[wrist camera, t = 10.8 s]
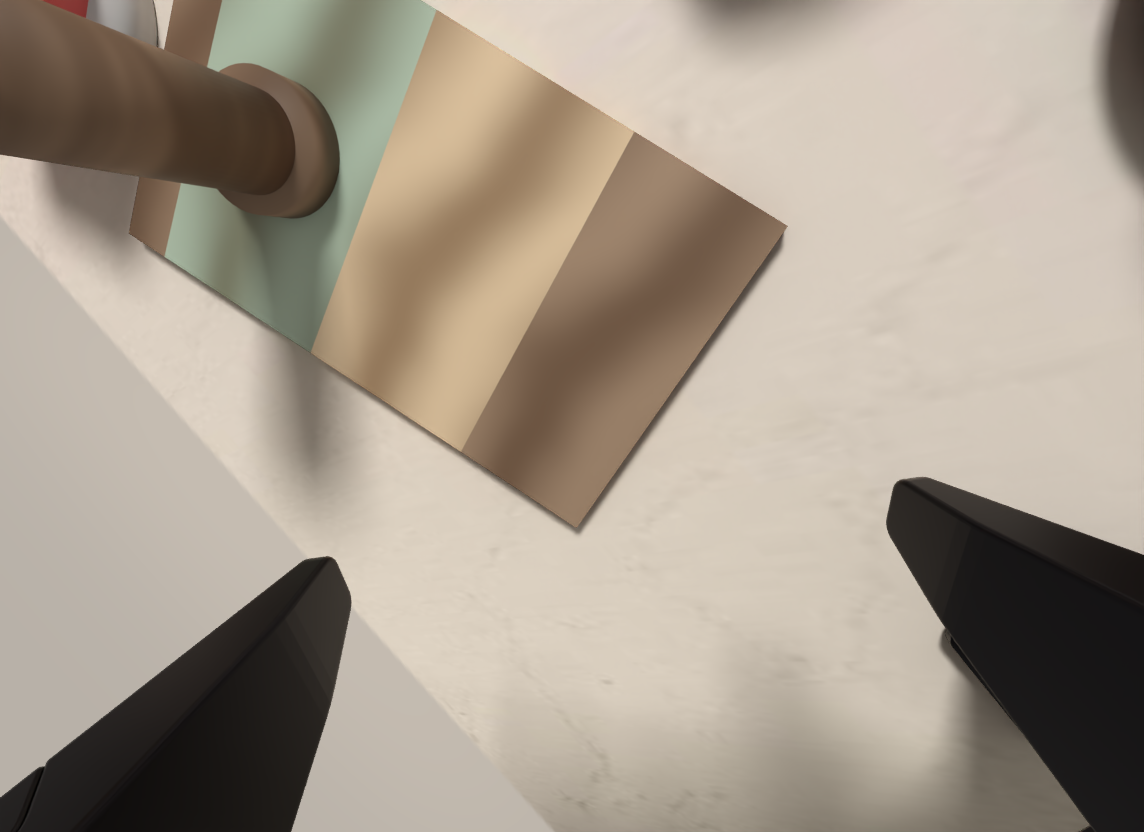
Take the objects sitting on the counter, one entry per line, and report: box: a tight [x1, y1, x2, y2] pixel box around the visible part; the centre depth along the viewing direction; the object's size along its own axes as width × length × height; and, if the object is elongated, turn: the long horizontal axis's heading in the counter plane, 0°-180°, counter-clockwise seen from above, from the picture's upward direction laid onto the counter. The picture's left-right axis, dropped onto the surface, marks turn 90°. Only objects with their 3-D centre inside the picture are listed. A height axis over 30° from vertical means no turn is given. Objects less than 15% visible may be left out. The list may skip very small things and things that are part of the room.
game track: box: [129, 0, 788, 528], centre depth 20 cm, size 24×14×1 cm, turn 59°
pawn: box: [0, 0, 340, 219], centre depth 14 cm, size 5×5×13 cm
